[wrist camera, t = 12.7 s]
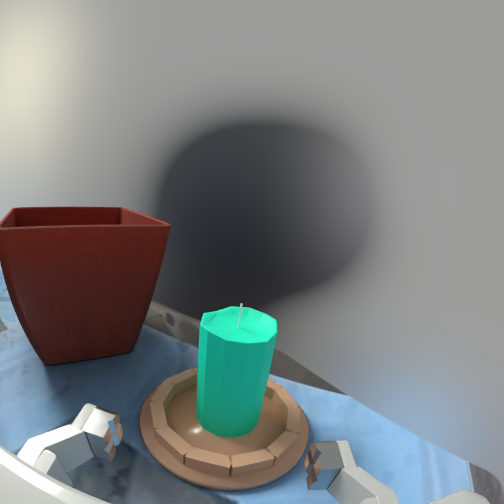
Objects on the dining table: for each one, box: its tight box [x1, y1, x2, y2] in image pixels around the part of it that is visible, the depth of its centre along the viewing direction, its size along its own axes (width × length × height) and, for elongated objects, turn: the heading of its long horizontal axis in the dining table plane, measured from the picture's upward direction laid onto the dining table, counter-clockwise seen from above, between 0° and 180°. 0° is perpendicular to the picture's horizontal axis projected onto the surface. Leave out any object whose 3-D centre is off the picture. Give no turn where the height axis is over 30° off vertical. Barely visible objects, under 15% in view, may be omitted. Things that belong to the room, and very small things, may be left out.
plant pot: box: [0, 207, 171, 365], centre depth 31 cm, size 19×19×17 cm
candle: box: [196, 304, 277, 438], centre depth 22 cm, size 6×6×12 cm
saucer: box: [140, 367, 309, 491], centre depth 23 cm, size 16×16×2 cm
